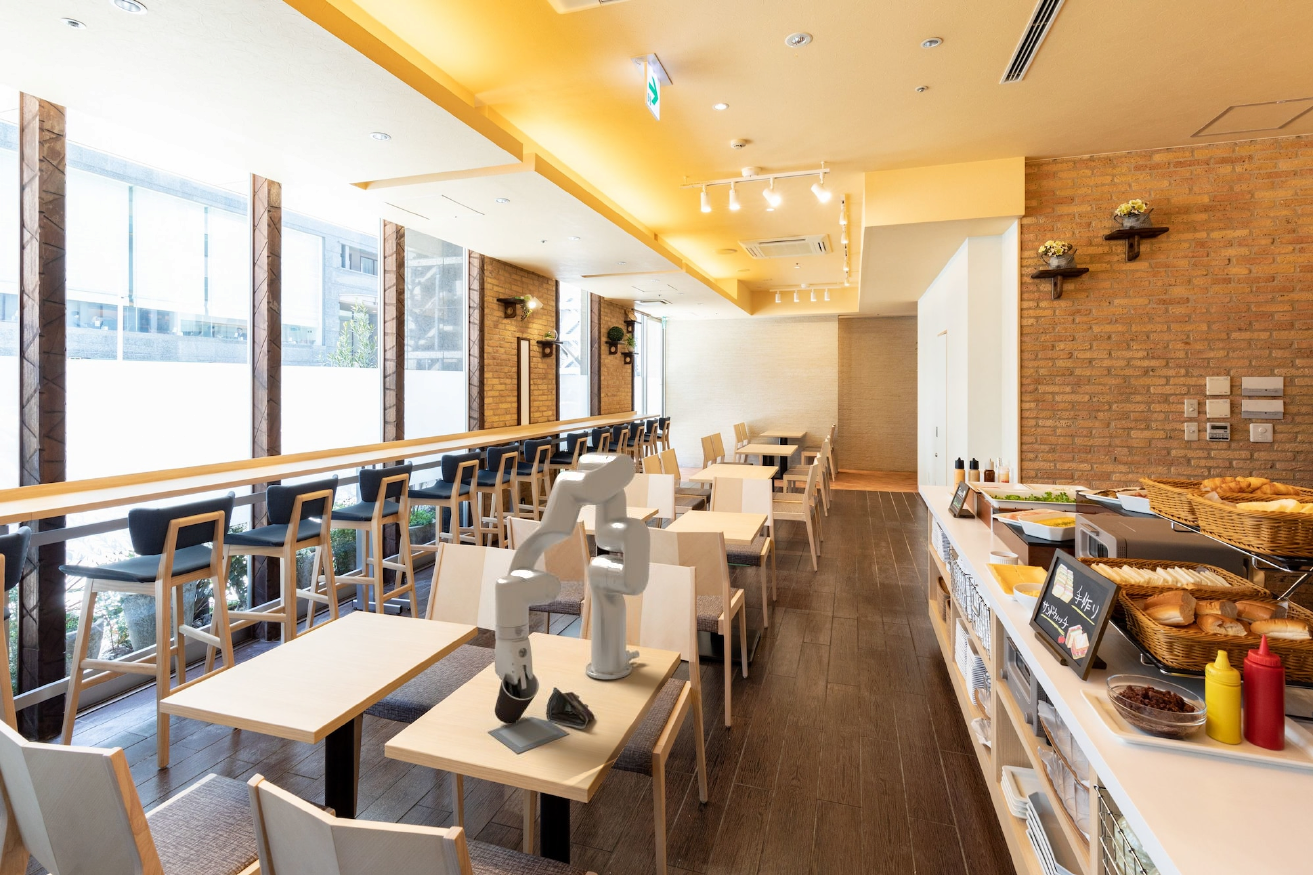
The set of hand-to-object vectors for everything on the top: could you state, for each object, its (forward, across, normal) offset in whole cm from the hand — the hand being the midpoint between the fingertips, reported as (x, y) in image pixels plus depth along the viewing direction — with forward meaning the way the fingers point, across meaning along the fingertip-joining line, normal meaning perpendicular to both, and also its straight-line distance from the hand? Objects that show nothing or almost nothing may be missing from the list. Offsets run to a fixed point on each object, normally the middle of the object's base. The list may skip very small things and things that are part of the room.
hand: (512, 709), depth 147 cm
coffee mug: (+1, +2, -1) cm, 3 cm away
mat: (+3, -7, 0) cm, 8 cm away
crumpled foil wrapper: (+5, -13, -11) cm, 18 cm away
